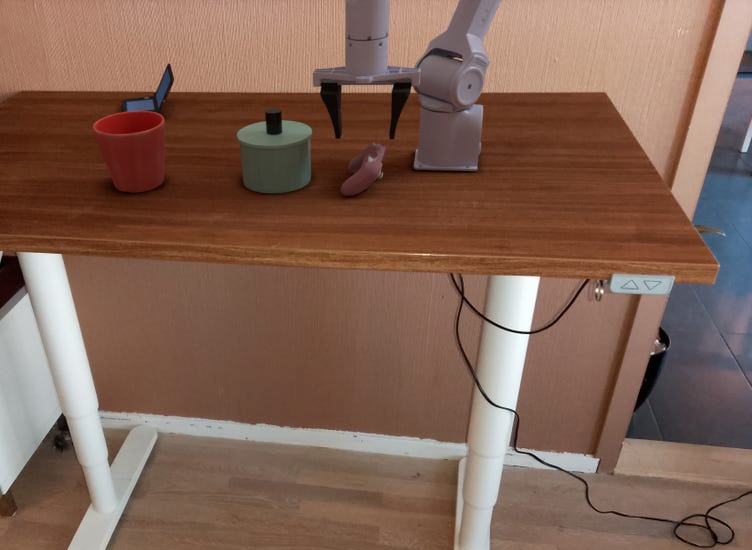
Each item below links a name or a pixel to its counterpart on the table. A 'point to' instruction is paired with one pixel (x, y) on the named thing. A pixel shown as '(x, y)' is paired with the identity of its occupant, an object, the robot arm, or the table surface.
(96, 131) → the flower pot
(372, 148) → the video game controller
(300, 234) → the table surface
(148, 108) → the handheld console
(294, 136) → the pot lid
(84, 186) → the table surface
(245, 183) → the pot
